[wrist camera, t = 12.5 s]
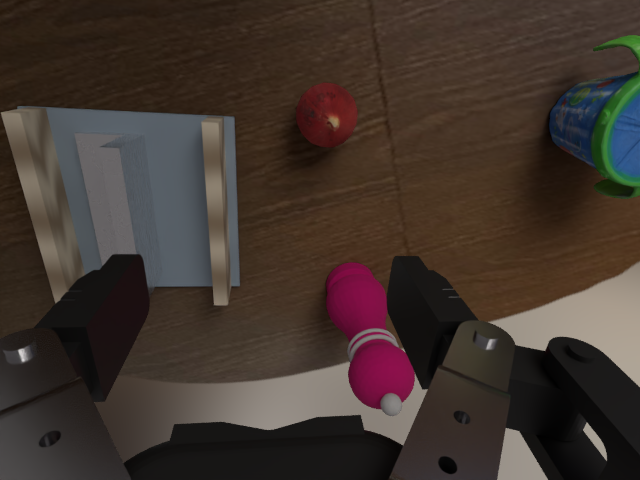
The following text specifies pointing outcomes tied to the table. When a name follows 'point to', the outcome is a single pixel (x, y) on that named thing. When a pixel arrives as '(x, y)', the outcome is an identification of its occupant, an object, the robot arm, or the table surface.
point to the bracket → (121, 197)
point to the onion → (326, 115)
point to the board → (155, 187)
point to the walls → (54, 213)
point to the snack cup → (604, 126)
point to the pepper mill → (368, 339)
